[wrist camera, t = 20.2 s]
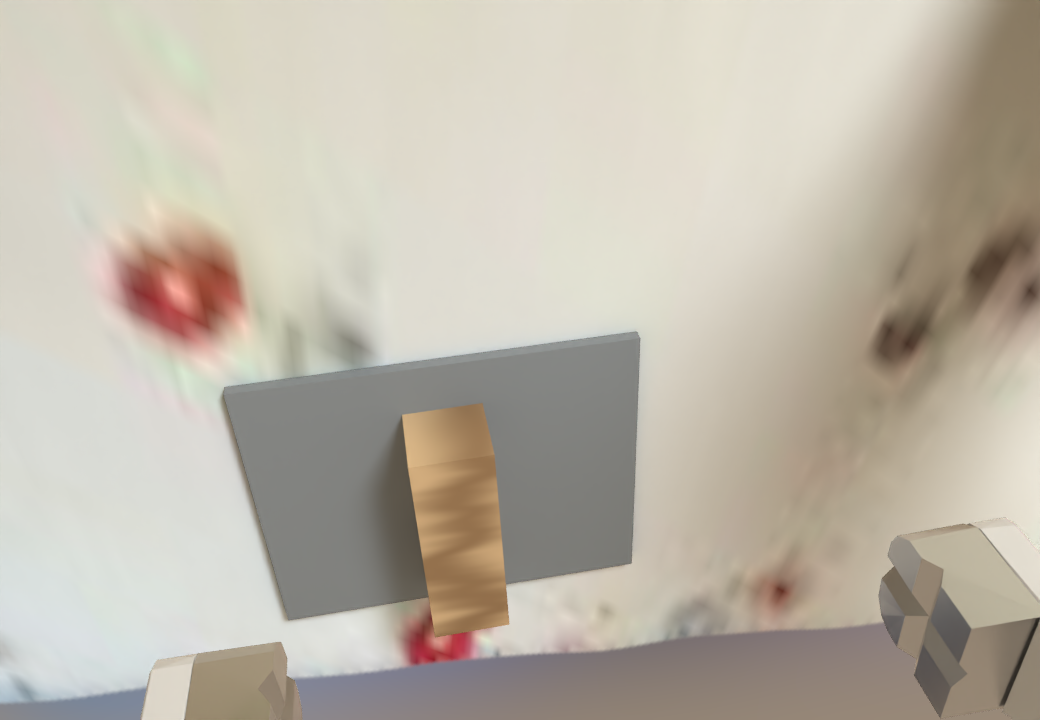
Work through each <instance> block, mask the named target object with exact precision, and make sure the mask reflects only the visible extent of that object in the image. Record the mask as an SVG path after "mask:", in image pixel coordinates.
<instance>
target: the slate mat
mask: <svg viewBox="0 0 1040 720" xmlns="http://www.w3.org/2000/svg"><path fill="white" fill-rule="evenodd" d="M639 358H640V337H639V335H638V333H637V332H631V333H623V334H616V335H609V336H601V337H594V338H586V339H579V340H572V341H564V342H557V343H549V344H542V345H535V346H527V347H520V348H512V349H505V350H498V351H490V352H483V353H475V354H468V355H461V356H453V357H446V358H438V359H431V360H424V361H416V362H409V363H401V364H394V365H386V366H379V367H372V368H364V369H357V370H349V371H342V372H335V373H327V374H320V375H312V376H305V377H298V378H290V379H283V380H275V381H268V382H261V383H253V384H246V385H238V386H231V387H225V388H224V398H225V402H226V405H227V409H228V412H229V416H230V419H231V423H232V426H233V430H234V433H235V436H236V440H237V443H238V447H239V450H240V454H241V457H242V461H243V464H244V468H245V471H246V475H247V478H248V482H249V485H250V488H251V492H252V495H253V499H254V502H255V506H256V509H257V513H258V516H259V520H260V523H261V527H262V530H263V534H264V537H265V540H266V544H267V547H268V551H269V554H270V558H271V561H272V565H273V568H274V572H275V575H276V579H277V582H278V586H279V589H280V593H281V596H282V599H283V603H284V606H285V610H286V613H287V617H288V620H294V619H300V618H306V617H312V616H318V615H324V614H330V613H336V612H342V611H348V610H354V609H360V608H366V607H372V606H378V605H384V604H390V603H396V602H402V601H408V600H414V599H420V598H426V597H429V596H428V590H427V583H426V577H425V571H424V565H423V558H422V552H421V546H420V540H419V534H418V527H417V521H416V515H415V509H414V502H413V496H412V490H411V484H410V477H409V471H408V464H407V455H406V446H405V437H404V428H403V419H402V415H404V414H411V413H418V412H425V411H432V410H439V409H445V408H452V407H459V406H466V405H473V404H479V403H483V408H484V412H485V416H486V420H487V425H488V429H489V433H490V437H491V442H492V446H493V450H494V454H495V465H496V477H497V488H498V500H499V511H500V523H501V535H502V546H503V558H504V569H505V581H506V584H511V583H517V582H523V581H529V580H535V579H541V578H547V577H553V576H559V575H565V574H571V573H577V572H583V571H589V570H595V569H601V568H607V567H613V566H619V565H625V564H631V563H632V539H633V513H634V487H635V461H636V436H637V410H638V384H639Z"/></svg>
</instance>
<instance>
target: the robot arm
mask: <svg viewBox="0 0 1040 720" xmlns="http://www.w3.org/2000/svg"><path fill="white" fill-rule="evenodd" d="M888 557H889V559H890V560H891V562H892V563H893V565H894V567H893V568H892V569H891V570H890V571H889V572H888V573H887V574H886V575H885V576H884V577H883V578H882V580H881V585H880V591H879V602H880V609H881V616H882V618H883V621H884V623H885V626H886V628H887V631H888V633H889V634H890V636H891V638H892V640H893V641H894V643H895V645H896V646H897V647H898V648H899V649H901V650H903V651H904V652H906V653H908V654H909V655H911V656H912V657H914V658H916V665H915V672H914V676H915V678H916V679H917V681H918V683H919V684H920V686H921V687H922V689H923V691H924V693H925V694H926V696H927V697H928V699H929V701H930V702H931V704H932V706H933V707H934V709H935V710H936V712H937V714H938V715H939V717H940V718H946V717H953V716H958V715H965V714H971V713H977V712H984V711H990V710H995V709H1002V708H1003V711H1002V712H1003V713H1004V714H1005V715H1007V716H1008V717H1010V718H1011V719H1012V720H1040V552H1039V551H1038V549H1037V548H1036V547H1035V546H1034V545H1033V544H1032V542H1031V541H1030V540H1029V539H1028V538H1027V537H1026V535H1025V534H1024V533H1023V532H1022V531H1021V530H1020V528H1019V527H1018V526H1017V525H1016V524H1015V523H1014V522H1012V521H1011V520H1009V519H1007V518H999V519H993V520H987V521H981V522H975V523H969V524H959V525H953V526H948V527H943V528H937V529H932V530H926V531H921V532H915V533H910V534H905V535H899V536H897V537H896V538H895V539H894V540H893V541H892V542H891V545H890V548H889V552H888ZM140 720H302V708H301V703H300V698H299V692H298V689H297V686H296V683H295V680H293V679H291V678H290V677H288V676H287V656H286V653H285V651H284V648H283V646H282V643H281V642H275V643H268V644H261V645H254V646H247V647H240V648H233V649H226V650H219V651H212V652H205V653H198V654H192V655H186V656H180V657H173V658H167V659H161V660H157V661H156V663H155V664H154V666H153V668H152V670H151V672H150V674H149V679H148V684H147V689H146V694H145V699H144V704H143V709H142V713H141V719H140Z"/></svg>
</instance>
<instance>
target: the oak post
mask: <svg viewBox="0 0 1040 720" xmlns="http://www.w3.org/2000/svg"><path fill="white" fill-rule="evenodd" d="M402 419H403V428H404V437H405V446H406V455H407V464H408V471H409V477H410V484H411V490H412V496H413V502H414V509H415V515H416V521H417V527H418V534H419V540H420V546H421V552H422V558H423V565H424V571H425V577H426V583H427V590H428V596H429V602H430V608H431V615H432V621H433V627H434V633H435V637H440V636H446V635H452V634H457V633H463V632H469V631H474V630H480V629H486V628H491V627H497V626H503V625H509V615H508V604H507V592H506V581H505V569H504V558H503V546H502V535H501V523H500V511H499V500H498V488H497V477H496V465H495V454H494V450H493V446H492V442H491V437H490V433H489V429H488V425H487V420H486V416H485V412H484V408H483V403H479V404H473V405H466V406H459V407H452V408H445V409H439V410H432V411H425V412H418V413H411V414H404V415H402Z"/></svg>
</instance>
